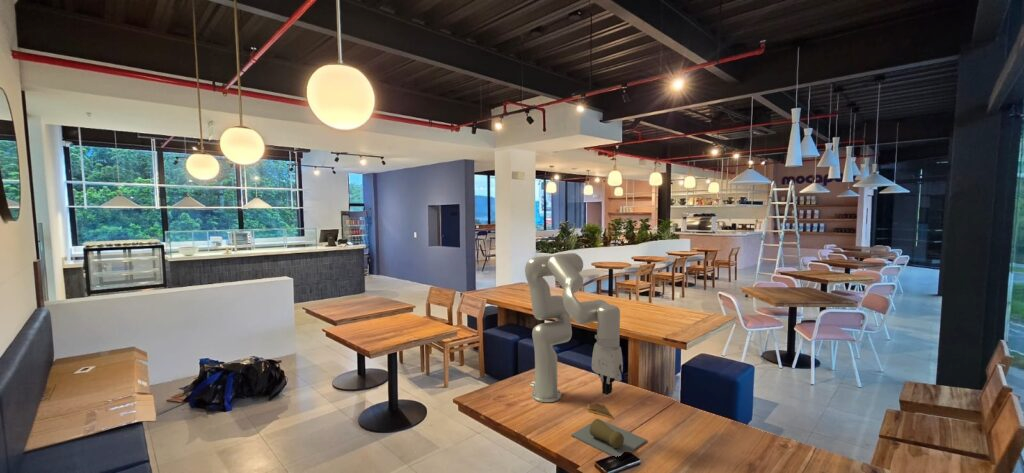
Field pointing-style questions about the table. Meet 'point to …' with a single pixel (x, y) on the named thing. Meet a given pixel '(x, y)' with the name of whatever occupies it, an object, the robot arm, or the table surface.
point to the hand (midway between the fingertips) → (606, 392)
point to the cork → (606, 433)
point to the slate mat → (628, 445)
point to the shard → (599, 410)
